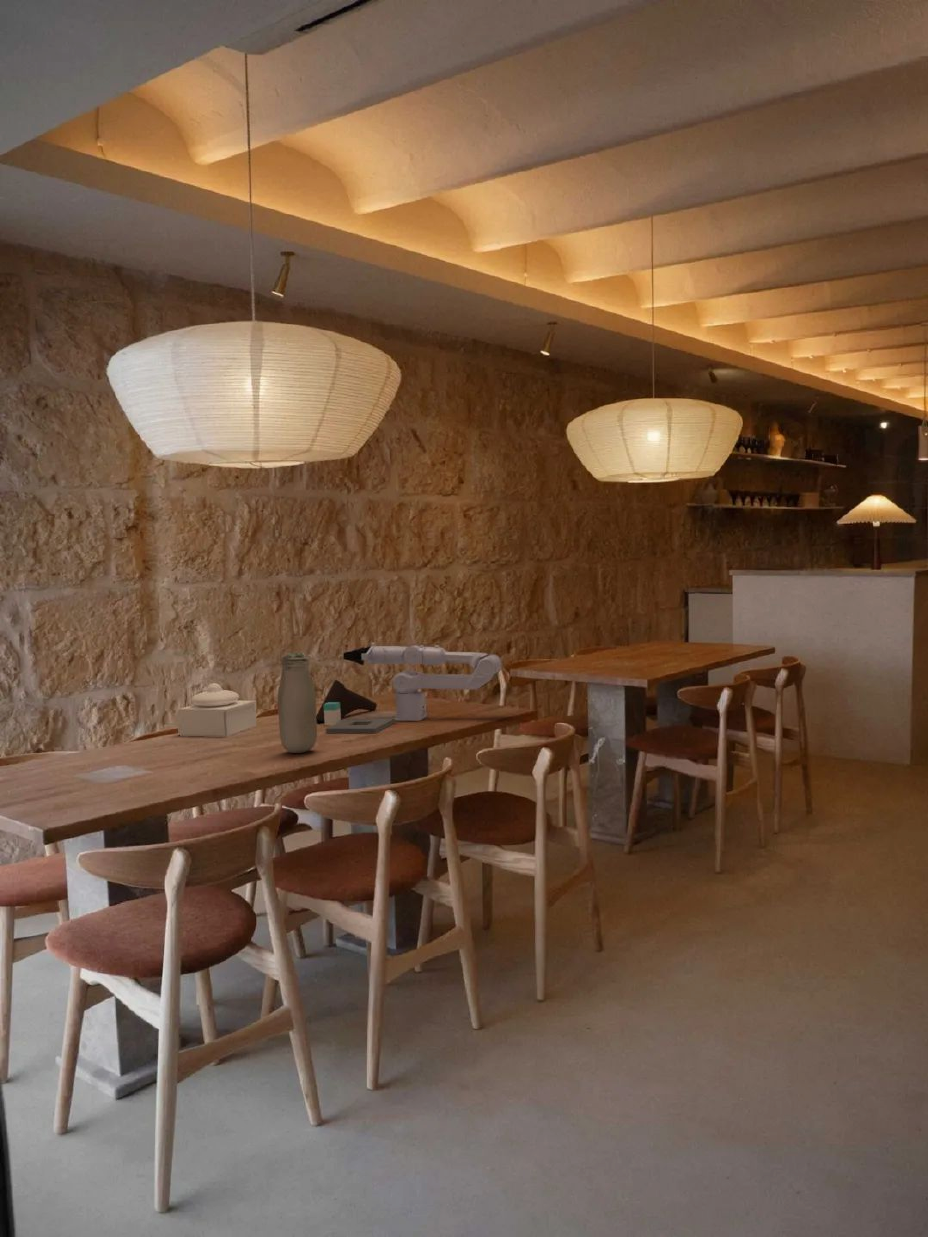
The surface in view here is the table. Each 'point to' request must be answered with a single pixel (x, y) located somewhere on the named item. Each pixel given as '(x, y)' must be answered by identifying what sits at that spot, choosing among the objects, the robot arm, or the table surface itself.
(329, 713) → the plug
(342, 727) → the port plate
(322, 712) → the holster
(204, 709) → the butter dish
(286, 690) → the glass bottle
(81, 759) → the table surface
